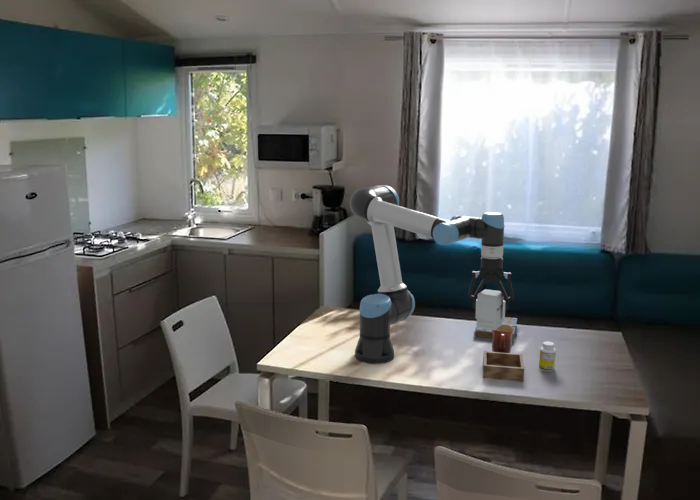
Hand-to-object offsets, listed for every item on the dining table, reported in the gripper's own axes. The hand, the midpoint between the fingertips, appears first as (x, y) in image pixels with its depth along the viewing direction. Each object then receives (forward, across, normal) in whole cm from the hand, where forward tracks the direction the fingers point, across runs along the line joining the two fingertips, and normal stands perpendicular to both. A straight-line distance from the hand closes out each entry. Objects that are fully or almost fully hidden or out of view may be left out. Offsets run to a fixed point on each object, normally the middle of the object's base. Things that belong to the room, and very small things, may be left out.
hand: (490, 318), depth 237 cm
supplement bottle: (+21, +21, +8) cm, 31 cm away
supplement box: (+3, 0, 0) cm, 3 cm away
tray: (+21, +5, +1) cm, 21 cm away
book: (+21, +3, +44) cm, 49 cm away
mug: (+21, +5, +19) cm, 29 cm away
